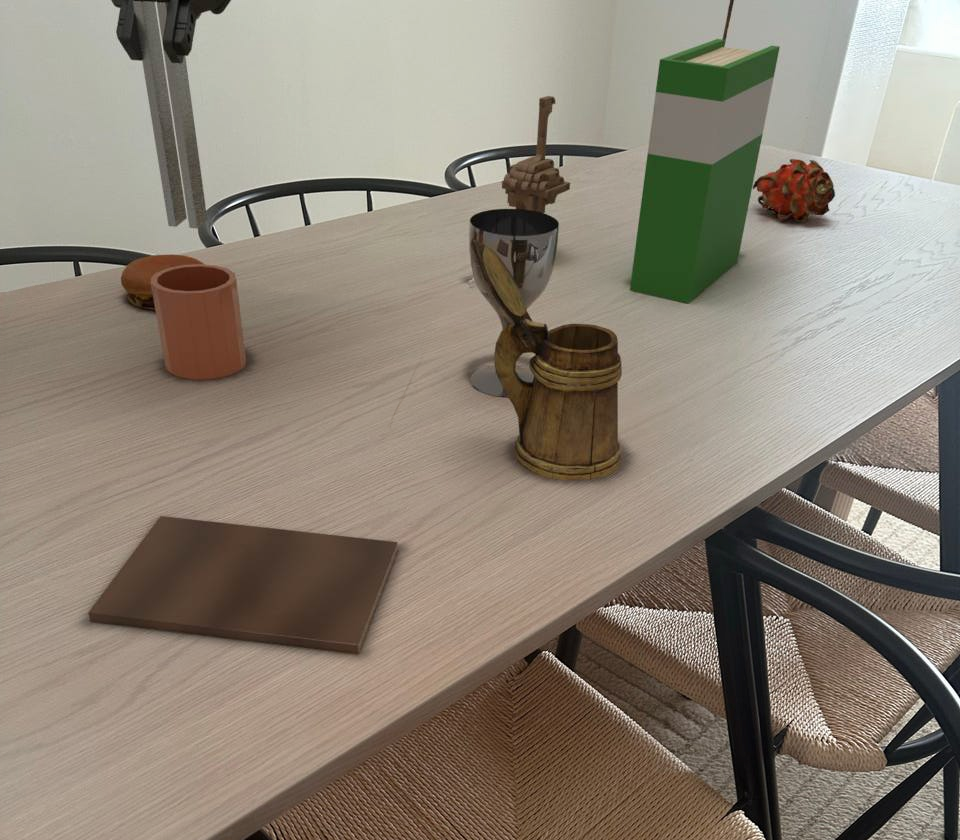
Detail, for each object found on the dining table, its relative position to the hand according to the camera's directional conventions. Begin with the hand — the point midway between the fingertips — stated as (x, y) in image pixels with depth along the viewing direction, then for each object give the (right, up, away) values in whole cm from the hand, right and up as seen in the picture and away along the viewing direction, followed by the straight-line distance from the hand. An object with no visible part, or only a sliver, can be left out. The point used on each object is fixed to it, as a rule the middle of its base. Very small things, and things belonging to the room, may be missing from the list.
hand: (152, 53), depth 73 cm
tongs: (0, -9, +10) cm, 13 cm away
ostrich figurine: (+28, +2, +49) cm, 56 cm away
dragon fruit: (+69, +17, +69) cm, 99 cm away
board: (+8, -40, -4) cm, 41 cm away
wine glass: (+27, -18, +24) cm, 40 cm away
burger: (-10, -6, +37) cm, 39 cm away
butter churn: (+58, +30, +84) cm, 107 cm away
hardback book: (+50, +2, +49) cm, 70 cm away
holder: (-2, -17, +24) cm, 29 cm away
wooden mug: (+30, -28, +12) cm, 43 cm away
